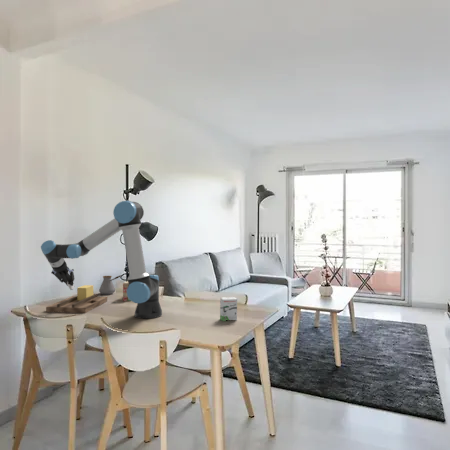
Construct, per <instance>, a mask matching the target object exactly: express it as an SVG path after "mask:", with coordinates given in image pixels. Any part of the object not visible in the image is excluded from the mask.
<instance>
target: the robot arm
mask: <svg viewBox="0 0 450 450" xmlns="http://www.w3.org/2000/svg"><path fill="white" fill-rule="evenodd" d="M112 213H113V219H111V220H110V221H108V222H107V223H105V224H104V225H102V226H101V227H99V228H97V230H95V231H93V232H92V233H91V234H89V235H87V236H86V237H84V238H83V239H81V240H80V241H78V242H77V243H76V242H75V243H70V244H69V243H68V244H66V243H65V244H56V242H55V241H54V240H52V239H51V240H49V239H48V240H45V241H44V242H42V244H41V245H40V249H41V251H42V254H43V255H44V257H45V258H46V260H47V262H48V264H49V265H50V266H51V268H52V270H51V274H52V275H53V276H55V277H56V279H57V280H59V282H61V283H64V284H65V285H66V286H67V287H68V289H69V290H70V291H73V290H74V288H75V285H74V284H75V283H74V282H75V275H74V271H75V270H74V268H72V269H71V268H69V266H68V264H67V262H66V260H65V259H79V258H80V257H84V256H86V255H88V254H89V252H91V250H93V249H94V248H96V247H98V246H99V245H101V244H102V243H104V242H105V241H107V240H109V239H110V238H111V237H113V236H114V235H116V234H118V233H119V232H120V231H122V237H123V243H124V248H125V254H126V260H127V266H128V273H129V276H128V277H127V281H128V285H129V286H128V288H127V296H128V298H129V299H130V300H131V301H130V302H132V303H135V304H136V307H135V310H134V317H135V318H137V319H155V318H159V317H161V316H162V315H163V310H162V307H161V305H160V300H159V299H160V277H159V275H158V274H149V273H148V272H147V270H146V269H147V268H146V263H145V257H144V251H143V245H142V240H141V234H140V229H139V228H140V227H141V225H142V222H141V221H142V219H143V217H144V214H145V213H144V208H143V206H142V205H141V203H139V202H136V201H131V200H122V201H119V202H118V203H117V204H116V205H115V206H114V208H113V212H112Z"/></svg>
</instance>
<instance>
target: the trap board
mask: <svg viewBox="0 0 450 450" xmlns="http://www.w3.org/2000/svg"><path fill="white" fill-rule="evenodd" d="M106 302H108V296H98V293H93V295H92V296H90V297H87V298H85V299H83V300H81V301H80V300H77V295H73V296H69V297H67V298H65V299H62V300H60V301H57V302H55V303H52V304H50V305H47V306H45V312H46V313H66V314H67V313H68V314H69V313H73V314H76V313H77V314H86V313H88V312H90V311H92V310H94V309H96V308H98V307H99V306H101V305H104V304H105V303H106Z"/></svg>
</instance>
